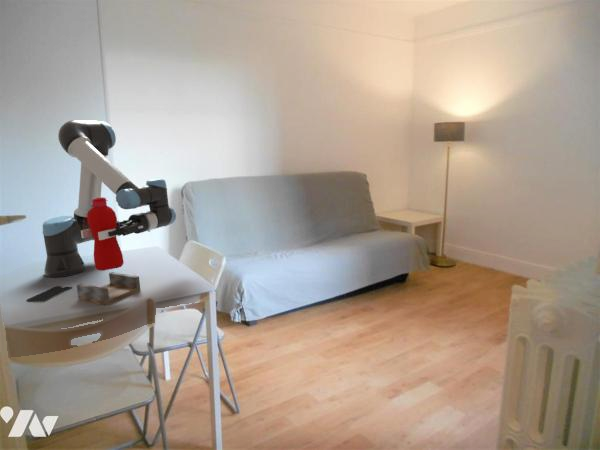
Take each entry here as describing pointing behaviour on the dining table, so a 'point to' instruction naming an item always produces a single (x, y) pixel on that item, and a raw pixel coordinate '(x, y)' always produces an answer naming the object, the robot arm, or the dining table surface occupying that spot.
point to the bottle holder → (110, 289)
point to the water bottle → (107, 249)
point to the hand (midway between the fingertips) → (90, 235)
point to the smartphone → (49, 294)
